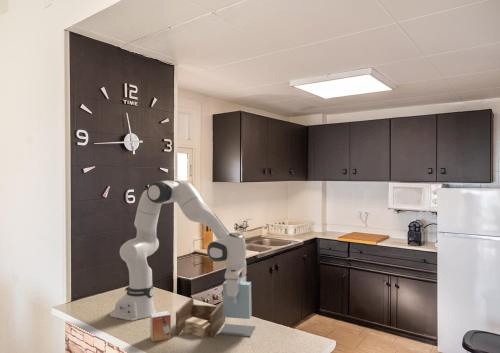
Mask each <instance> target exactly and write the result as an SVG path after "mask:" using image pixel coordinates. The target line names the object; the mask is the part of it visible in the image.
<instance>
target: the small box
mask: <svg viewBox="0 0 500 353" xmlns="http://www.w3.org/2000/svg"><path fill="white" fill-rule="evenodd" d="M149 319H150V320H149V322H150V325H149V326H150V327H149V328H150V329H149V330H150V333H149V334H150V339H151V342H152V343H154V342H158V341H164V340H170V339H171V338H172V334H171V333H172V332H171V330H172V326H171V325H172V323H171V320H172V319H171V313H170V311H169V310H164V311H163V310H162V311H158V312H157V311H156V313H150V317H149Z"/></svg>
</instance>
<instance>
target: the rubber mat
mask: <svg viewBox="0 0 500 353" xmlns="http://www.w3.org/2000/svg"><path fill="white" fill-rule="evenodd" d="M255 328H256V326H255V325H246V324H245V325H244V324H243V325H242V324H233V323H231V324H230V323H224V324H223V326H222V327H221V330H219V332H218V335H223V336H234V337H244V338H251V336H252V334H253V332H254V330H255Z"/></svg>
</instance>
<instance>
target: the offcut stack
mask: <svg viewBox="0 0 500 353" xmlns="http://www.w3.org/2000/svg"><path fill="white" fill-rule="evenodd" d="M185 324H186V325H185V328H183V331H182V333H184V334H189V335H193V336H199V337H203V338H205V337H206V336H208V334H211V329H210V322H209V321H207V320H203V319H199V318H196V317H191V318H189V319H187V320H185Z"/></svg>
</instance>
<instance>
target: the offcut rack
mask: <svg viewBox="0 0 500 353" xmlns="http://www.w3.org/2000/svg"><path fill="white" fill-rule="evenodd" d="M191 317H196V318H199V319H203V320H207V321H208V322H209V323H210V329H211V332H210V339H214V338H215V336H216V335H217V334H218V333H219V332H220V329H222V327H223V326H224V325H225V322H226V317H223V299H222V300H221V302H219V304H218V305H210V304H209V305H207V304H194V298H193V297H191V298H190V299H188V300H187V301H186V302H185V303H184V304H183V305H182V306H181V307H179V309H177V310H176V312H175V335H176V336H179V335H180V334H181V333H183V328H185V325H186V324H185V320H187V319H189V318H191Z"/></svg>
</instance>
